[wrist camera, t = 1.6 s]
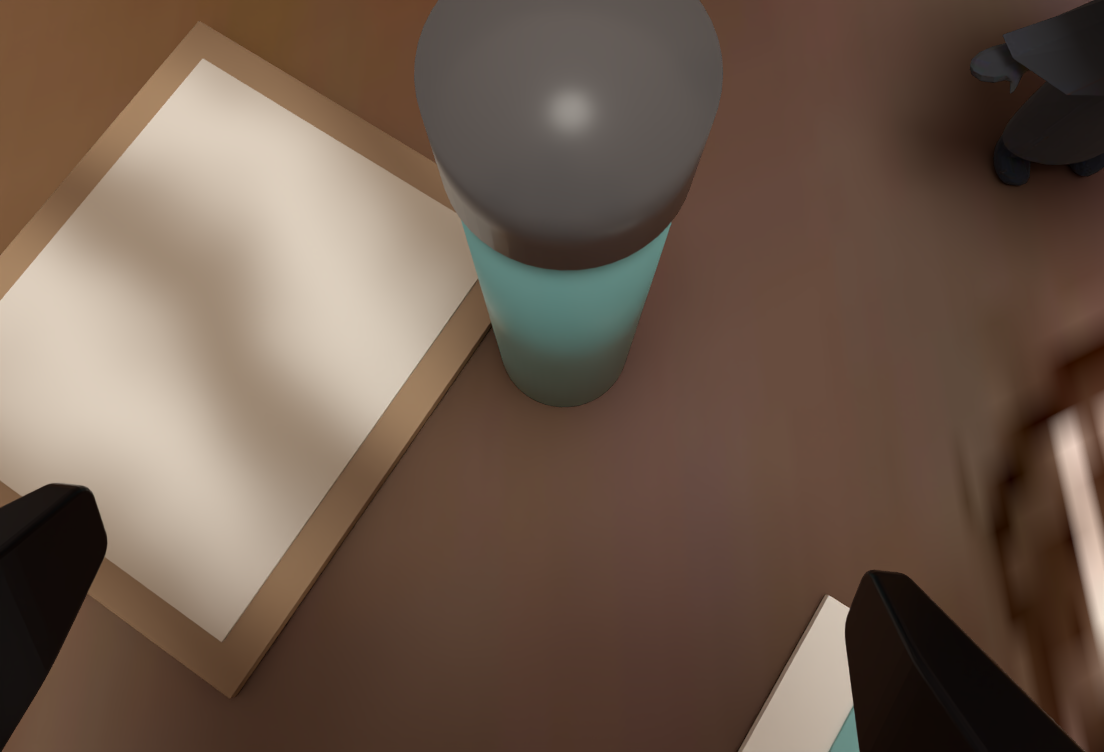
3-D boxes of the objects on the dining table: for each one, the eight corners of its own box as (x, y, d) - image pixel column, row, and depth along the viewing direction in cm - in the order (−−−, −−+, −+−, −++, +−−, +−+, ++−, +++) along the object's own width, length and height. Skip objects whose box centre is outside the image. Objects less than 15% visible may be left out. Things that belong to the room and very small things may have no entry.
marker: (584, 436, 22) (616, 268, 9) (470, 363, 22) (352, 109, 10) (656, 325, 22) (779, 26, 10) (544, 257, 23) (524, -111, 10)
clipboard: (236, 696, 20) (228, 699, 20) (-130, 426, 22) (-146, 423, 22) (552, 238, 23) (552, 232, 23) (204, 29, 25) (197, 18, 24)
